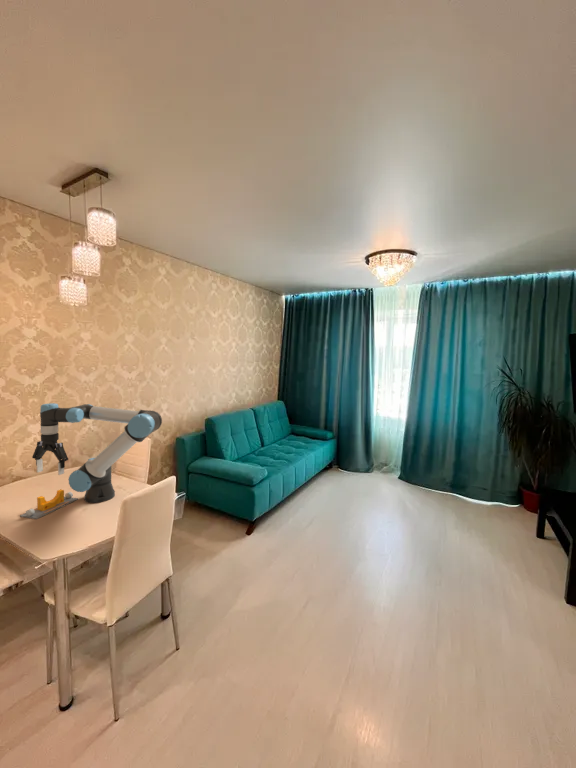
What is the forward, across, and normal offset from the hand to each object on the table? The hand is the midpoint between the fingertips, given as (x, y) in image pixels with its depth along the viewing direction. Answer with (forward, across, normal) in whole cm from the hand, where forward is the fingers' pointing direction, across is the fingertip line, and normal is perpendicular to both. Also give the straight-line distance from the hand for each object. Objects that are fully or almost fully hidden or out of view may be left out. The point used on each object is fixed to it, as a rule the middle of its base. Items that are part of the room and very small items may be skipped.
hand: (50, 472), depth 169 cm
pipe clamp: (+18, 0, -1) cm, 18 cm away
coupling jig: (+19, 0, 0) cm, 19 cm away
